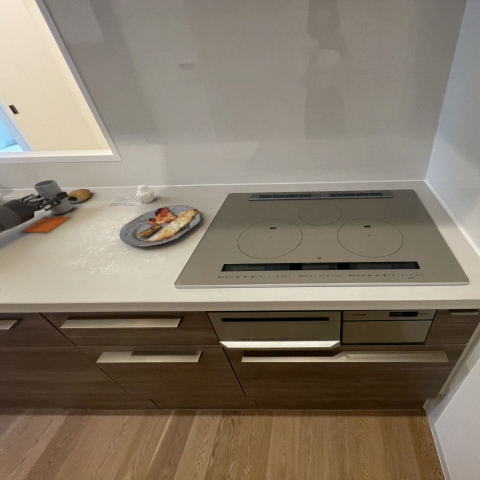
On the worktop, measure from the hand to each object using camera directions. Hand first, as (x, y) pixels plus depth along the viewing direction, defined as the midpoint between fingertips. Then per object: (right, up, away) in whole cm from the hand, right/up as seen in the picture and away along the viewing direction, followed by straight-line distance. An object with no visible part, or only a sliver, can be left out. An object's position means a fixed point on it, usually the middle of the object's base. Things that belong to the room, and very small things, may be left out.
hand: (59, 192), depth 100 cm
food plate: (+45, -14, -8) cm, 48 cm away
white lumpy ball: (+29, -2, +8) cm, 30 cm away
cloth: (+1, -12, -5) cm, 14 cm away
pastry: (-1, -1, +10) cm, 10 cm away
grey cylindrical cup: (0, -6, +2) cm, 6 cm away
